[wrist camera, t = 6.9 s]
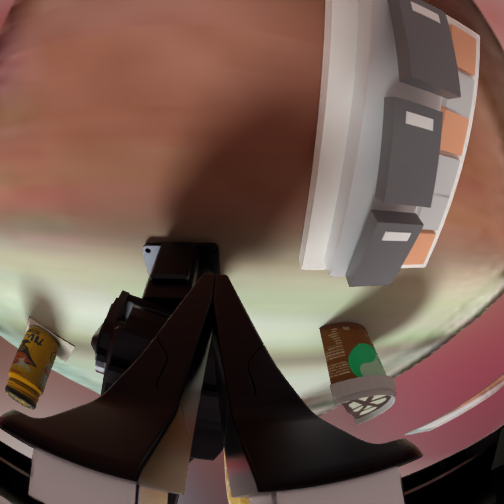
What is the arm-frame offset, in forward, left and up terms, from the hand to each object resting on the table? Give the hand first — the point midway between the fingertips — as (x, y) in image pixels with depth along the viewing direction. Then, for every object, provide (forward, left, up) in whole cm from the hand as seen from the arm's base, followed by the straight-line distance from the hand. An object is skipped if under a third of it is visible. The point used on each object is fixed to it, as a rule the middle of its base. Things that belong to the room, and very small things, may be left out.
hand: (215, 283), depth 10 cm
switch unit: (+4, -13, -11) cm, 17 cm away
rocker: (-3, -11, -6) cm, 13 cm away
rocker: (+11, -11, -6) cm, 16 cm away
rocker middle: (+4, -11, -6) cm, 13 cm away
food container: (-20, -15, -12) cm, 28 cm away
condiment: (-24, +29, -12) cm, 40 cm away
